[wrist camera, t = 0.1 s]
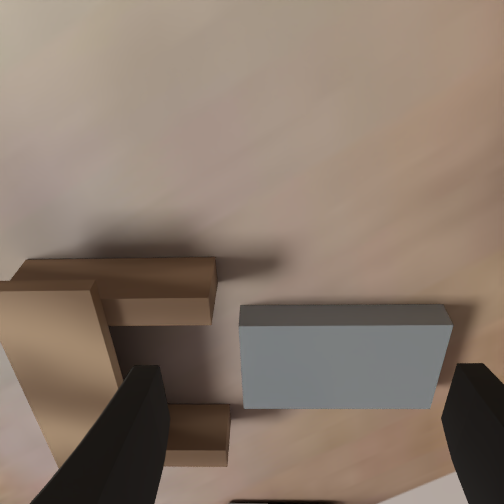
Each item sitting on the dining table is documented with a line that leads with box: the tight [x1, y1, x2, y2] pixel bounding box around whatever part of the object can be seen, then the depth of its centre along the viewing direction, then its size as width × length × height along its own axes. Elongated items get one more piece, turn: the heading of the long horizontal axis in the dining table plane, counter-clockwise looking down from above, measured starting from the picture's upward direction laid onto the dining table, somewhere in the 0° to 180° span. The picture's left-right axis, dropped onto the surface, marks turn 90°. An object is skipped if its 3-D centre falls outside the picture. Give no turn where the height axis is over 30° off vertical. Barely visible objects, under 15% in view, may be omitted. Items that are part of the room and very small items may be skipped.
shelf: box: [0, 257, 231, 469], centre depth 23 cm, size 14×9×4 cm, turn 2°
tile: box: [239, 304, 453, 409], centre depth 24 cm, size 6×10×2 cm, turn 92°
